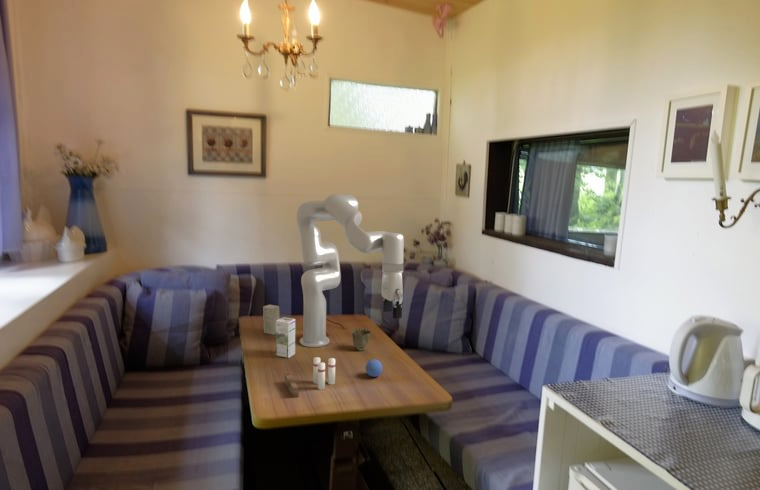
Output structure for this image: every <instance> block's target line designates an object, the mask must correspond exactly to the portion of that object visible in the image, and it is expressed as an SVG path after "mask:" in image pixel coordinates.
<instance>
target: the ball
mask: <svg viewBox="0 0 760 490" xmlns="http://www.w3.org/2000/svg"><path fill="white" fill-rule="evenodd" d="M365 372H366V374H367V375H368V376H369V377H373V378H376V377H378V376H380V375H381V374H382V372H383V364H382V363H381V361H380V360H378V359H371V360H369V361H367V363H366V365H365Z"/></svg>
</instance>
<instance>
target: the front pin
mask: <svg viewBox="0 0 760 490" xmlns="http://www.w3.org/2000/svg"><path fill="white" fill-rule="evenodd" d="M327 359H328V360H327V361H328V362H327V363H328V364H327V366H328V368H327V384H328V385H335V384H336V358H334V357H330V358H327Z"/></svg>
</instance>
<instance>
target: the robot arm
mask: <svg viewBox="0 0 760 490" xmlns="http://www.w3.org/2000/svg"><path fill="white" fill-rule="evenodd" d="M362 219H363V215H362V212H361V211H359V201H358V200H357V198H356V197H355V196H354V195H352V194H348V193H343V194H341V193H339V194H338V193H337V194H336V193H335V194H330V195H328V196H327V197H326V198H324V200H308V201H305V202H303V203H301V204H300V205H299V206H298V208H297V210H296V222H297V227H298V229H299V233H300V234H299V235H300V246H301V255H302V260H303V263H304V264H305V265H306V266H310V267H315V266H321V265H322V267H318V268H313V269H309V270H308V269H307V270H306V271H305V272H303V274H302V275H301V279H300V283H301V289H302V295H303V296H302V297H303V320H302V321H303V325H302V326H303V331H302V334H303V336H302V337H300V339H299V344H300V345H301V346H304V347H309V348H319V347H324V346H327V345H328V344H330V338H329V336H327V334H326V332H327V320H326V319H327V298H326V297H325V295H324V293H323V291H324V292H325V291H326V290H327V291H328V290H332V289H333V290H334V289H335V288H337V287H338V286H339V285H340V283H341V279H342V278H341V276H342V275H341V265H340V255H339V251H338V248H337V246H336V245H335V244H334V243H332V242H331V241H322V233H321V230H320V228H319V226H318V225H317V224H316V222H331V221H336V222H337V223H338V224H340V226H342V227H343V228H344V234H345V238H346V240H347V241H348V243H349V244H350V245H351V246H352V247H354V248H355V249H356V250H357V251H359V252H360V253H363V254H370V253H377V252H378V253H379V252H381V253H382V255H381V256H382V261H381V262H382V263H381V265H382V267H381V269H382V270H381V272H382V275H381V290H380V291H381V292H380V293H381V297H382V300H383V305H382V306H383V312H384V313H386V312H387V313H389V312H392V319H396V320H397V319H401V318H403V317H402V315H403V314H402V313H403V304H404V303H403V300H404V297H403V295H404V292H403V289H404V288H403V287H404V286H403V273H404V255H405V253H404V252H405V251H404V250H405V249H404V246H405V244H404V243H405V242H404V241H405V239H404V238H405V237H404V235H403V234H402V233H400V232H399V233H398V232H389V231H385V230H374V231H367V232H366V231H365V230H363V229H362V228H361V227H360V224H362Z"/></svg>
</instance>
